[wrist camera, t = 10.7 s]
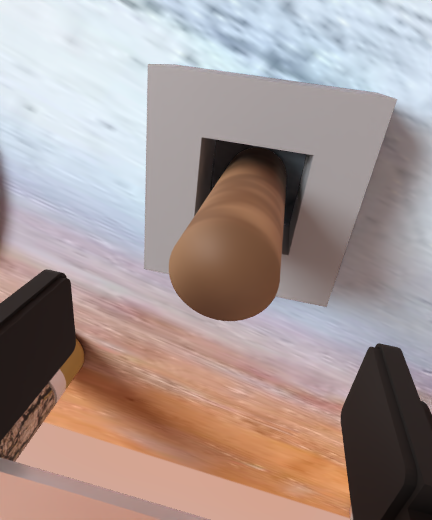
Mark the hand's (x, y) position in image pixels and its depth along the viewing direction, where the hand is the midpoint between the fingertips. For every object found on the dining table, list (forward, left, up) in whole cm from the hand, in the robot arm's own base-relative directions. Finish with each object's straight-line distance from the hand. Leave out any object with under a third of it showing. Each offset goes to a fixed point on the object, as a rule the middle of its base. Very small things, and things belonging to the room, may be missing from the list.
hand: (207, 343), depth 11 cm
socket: (0, 0, -18) cm, 17 cm away
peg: (0, 0, -18) cm, 18 cm away
